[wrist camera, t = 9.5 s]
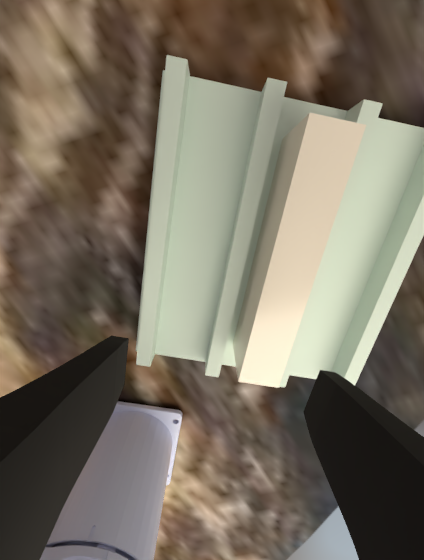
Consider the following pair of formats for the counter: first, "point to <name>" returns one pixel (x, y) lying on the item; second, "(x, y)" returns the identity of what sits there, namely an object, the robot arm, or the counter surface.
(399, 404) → the counter surface
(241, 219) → the ridged mint rail
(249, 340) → the clay strip
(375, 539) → the robot arm
